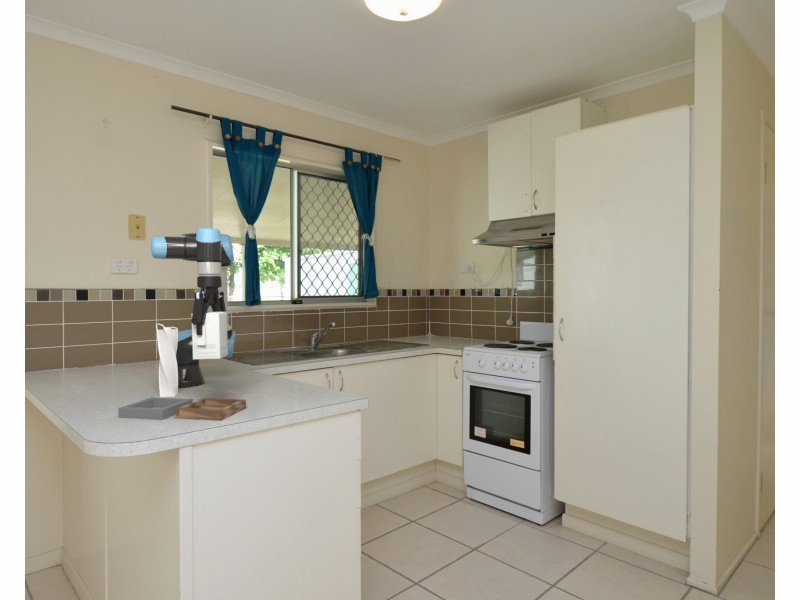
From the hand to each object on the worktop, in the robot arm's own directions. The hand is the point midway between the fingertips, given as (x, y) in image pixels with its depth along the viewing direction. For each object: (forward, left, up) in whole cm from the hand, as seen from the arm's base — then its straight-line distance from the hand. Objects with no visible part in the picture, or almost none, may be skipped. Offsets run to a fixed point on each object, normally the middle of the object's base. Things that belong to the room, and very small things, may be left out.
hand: (210, 343), depth 167 cm
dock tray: (0, 0, -23) cm, 23 cm away
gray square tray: (+2, -19, -23) cm, 30 cm away
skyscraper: (-22, -32, -23) cm, 45 cm away
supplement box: (0, 0, -5) cm, 5 cm away
